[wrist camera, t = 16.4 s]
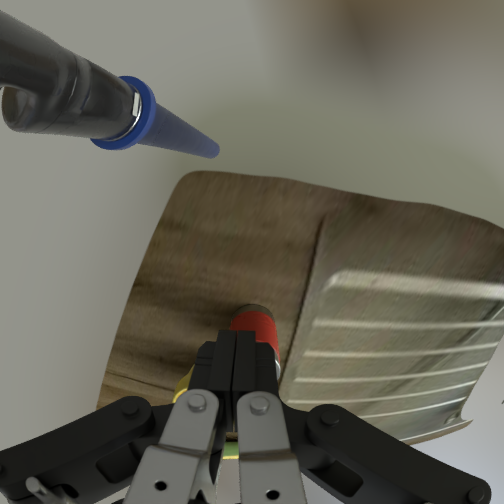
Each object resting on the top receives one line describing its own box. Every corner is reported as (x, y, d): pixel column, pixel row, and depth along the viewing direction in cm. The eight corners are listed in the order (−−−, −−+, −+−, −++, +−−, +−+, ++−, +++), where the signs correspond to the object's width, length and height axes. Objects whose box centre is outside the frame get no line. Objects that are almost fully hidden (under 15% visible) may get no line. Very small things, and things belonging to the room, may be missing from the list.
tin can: (222, 329, 42) (213, 379, 31) (244, 296, 40) (240, 341, 29) (260, 347, 43) (261, 398, 32) (283, 316, 41) (292, 364, 30)
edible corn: (182, 437, 51) (179, 452, 47) (270, 434, 50) (270, 450, 45) (189, 448, 52) (186, 463, 48) (273, 445, 51) (274, 460, 47)
